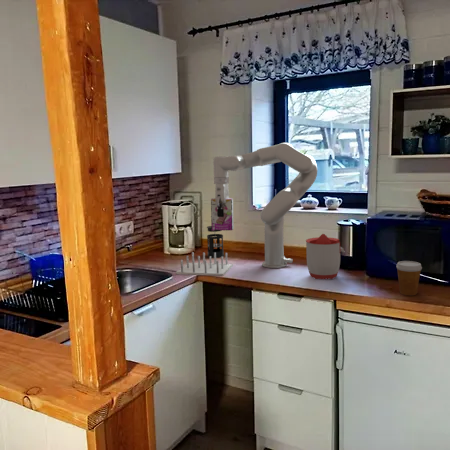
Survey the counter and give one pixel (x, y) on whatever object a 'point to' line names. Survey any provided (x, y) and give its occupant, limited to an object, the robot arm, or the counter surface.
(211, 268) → the dish rack
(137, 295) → the counter surface
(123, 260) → the counter surface
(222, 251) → the french press
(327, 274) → the citrus juicer
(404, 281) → the disposable coffee cup
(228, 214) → the candy bar box
